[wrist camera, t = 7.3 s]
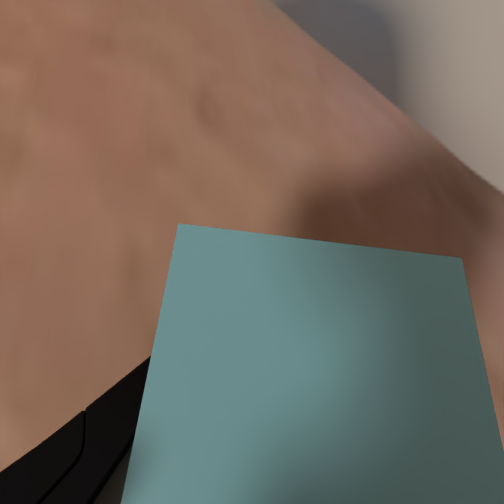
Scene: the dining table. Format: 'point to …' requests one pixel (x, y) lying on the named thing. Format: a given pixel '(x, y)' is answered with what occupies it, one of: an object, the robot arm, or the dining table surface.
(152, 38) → the dining table surface
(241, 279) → the teal block
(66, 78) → the dining table surface
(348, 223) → the dining table surface
